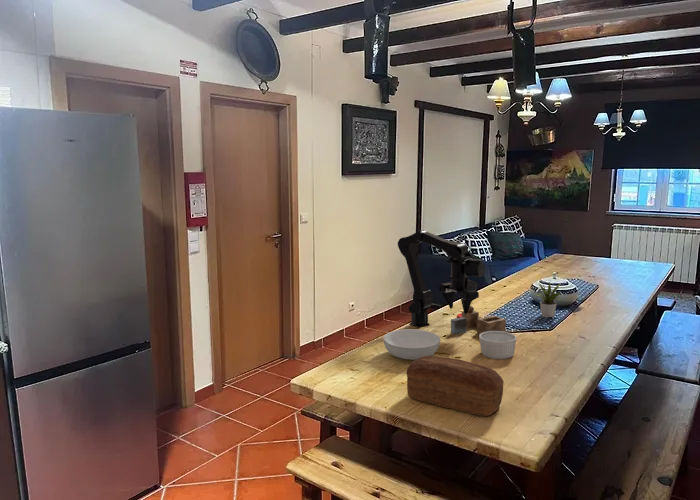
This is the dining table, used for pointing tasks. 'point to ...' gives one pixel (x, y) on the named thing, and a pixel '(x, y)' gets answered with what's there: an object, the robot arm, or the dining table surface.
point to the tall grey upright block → (458, 325)
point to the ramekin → (497, 344)
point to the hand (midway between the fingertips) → (458, 311)
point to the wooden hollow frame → (484, 322)
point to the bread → (455, 384)
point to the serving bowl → (411, 343)
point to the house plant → (548, 301)
